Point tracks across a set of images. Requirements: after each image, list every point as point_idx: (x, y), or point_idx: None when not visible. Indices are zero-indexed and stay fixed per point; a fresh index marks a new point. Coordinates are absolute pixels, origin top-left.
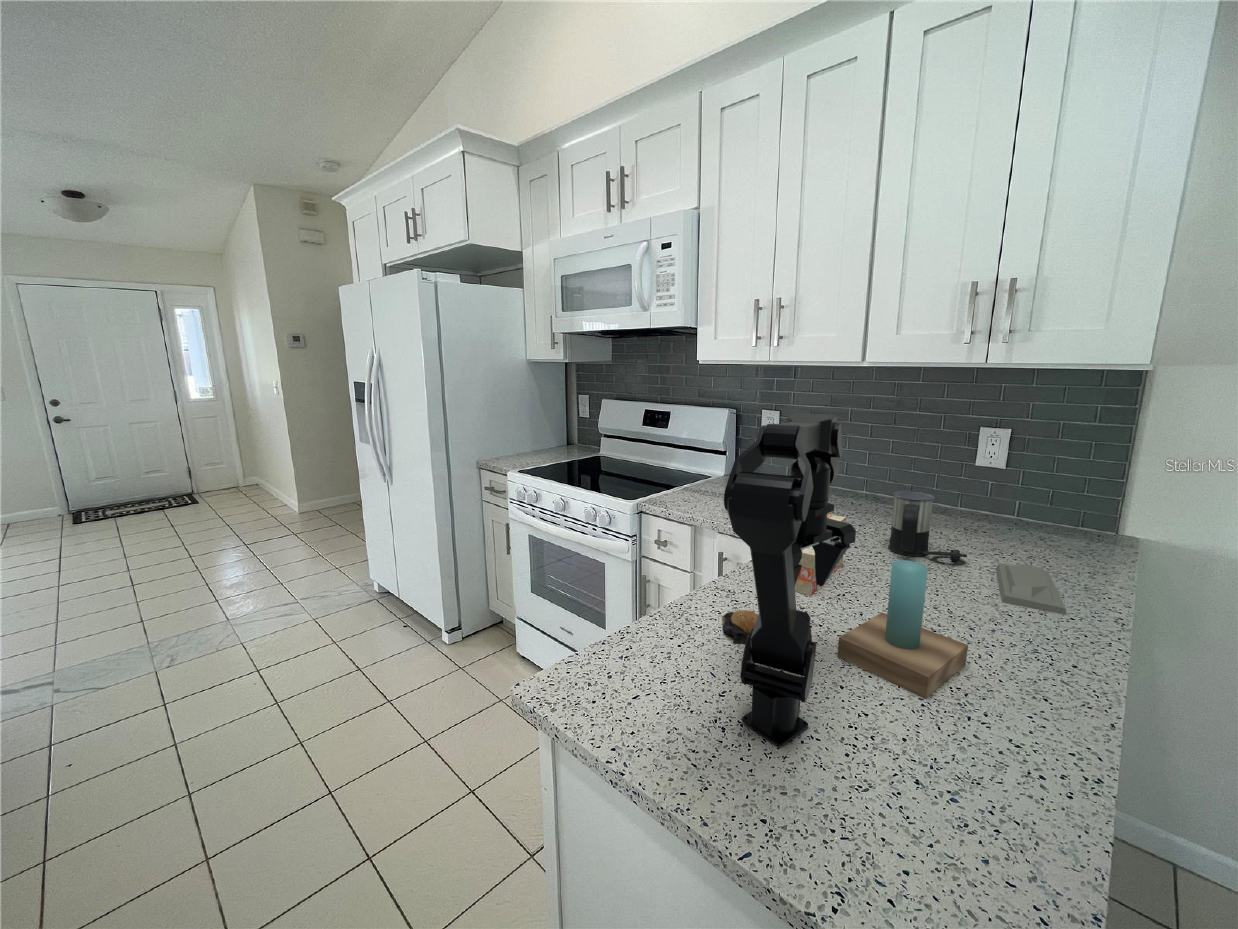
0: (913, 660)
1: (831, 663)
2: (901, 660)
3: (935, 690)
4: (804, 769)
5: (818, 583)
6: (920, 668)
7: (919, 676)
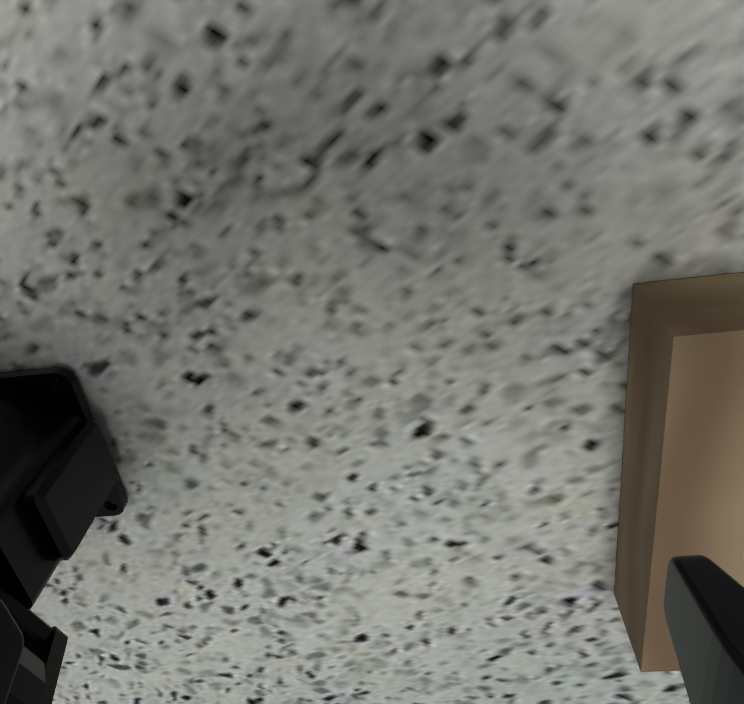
0: None
1: (549, 306)
2: None
3: None
4: None
5: (676, 594)
6: None
7: (637, 639)
